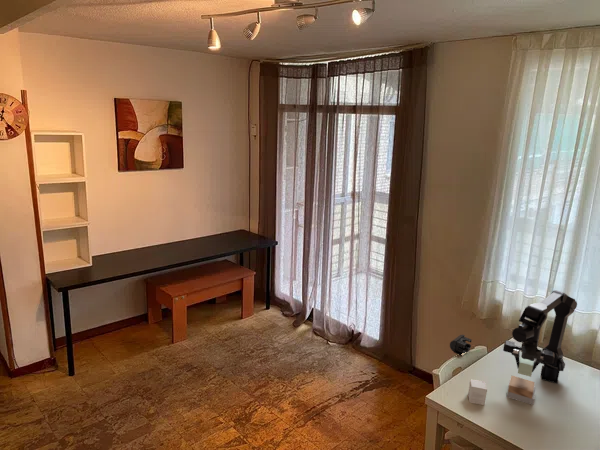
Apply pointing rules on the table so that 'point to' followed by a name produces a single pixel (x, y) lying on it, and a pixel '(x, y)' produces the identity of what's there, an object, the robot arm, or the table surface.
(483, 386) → the product box
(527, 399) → the bottom slab
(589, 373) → the table surface
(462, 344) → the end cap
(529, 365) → the green cube
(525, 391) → the top slab
